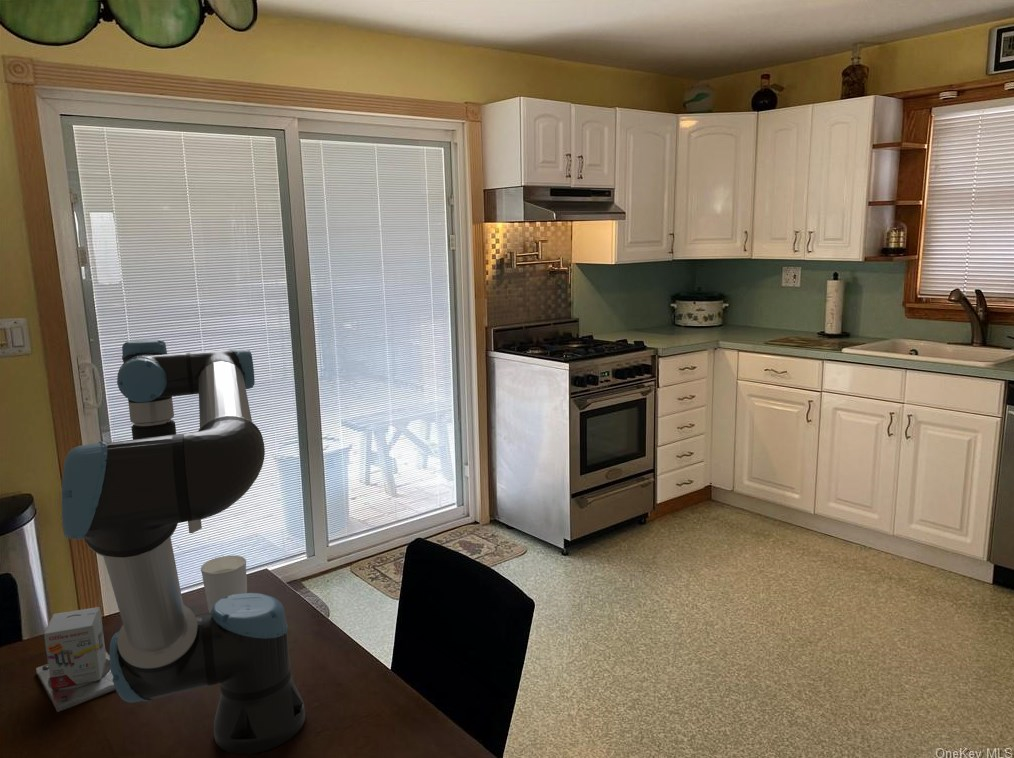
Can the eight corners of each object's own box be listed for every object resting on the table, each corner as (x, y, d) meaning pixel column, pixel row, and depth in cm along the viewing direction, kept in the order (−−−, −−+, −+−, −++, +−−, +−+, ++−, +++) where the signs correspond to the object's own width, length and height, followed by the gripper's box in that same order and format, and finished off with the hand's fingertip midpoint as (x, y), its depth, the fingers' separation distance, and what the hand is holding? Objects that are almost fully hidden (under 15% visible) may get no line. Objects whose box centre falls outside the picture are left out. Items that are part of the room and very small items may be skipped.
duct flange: (127, 685, 143) (126, 678, 143) (57, 712, 135) (56, 704, 135) (102, 650, 156) (101, 644, 156) (36, 673, 148) (35, 666, 148)
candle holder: (242, 598, 178) (237, 551, 176) (257, 612, 170) (252, 564, 168) (200, 612, 172) (194, 563, 170) (214, 627, 164) (208, 577, 162)
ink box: (50, 690, 139) (41, 633, 137) (59, 667, 147) (51, 612, 145) (101, 680, 142) (93, 623, 140) (108, 658, 150) (100, 604, 148)
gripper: (222, 418, 139) (233, 525, 143) (114, 416, 146) (126, 518, 149) (196, 427, 132) (208, 539, 135) (83, 424, 139) (97, 532, 142)
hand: (165, 529), depth 142 cm, fingers open, 13 cm apart
